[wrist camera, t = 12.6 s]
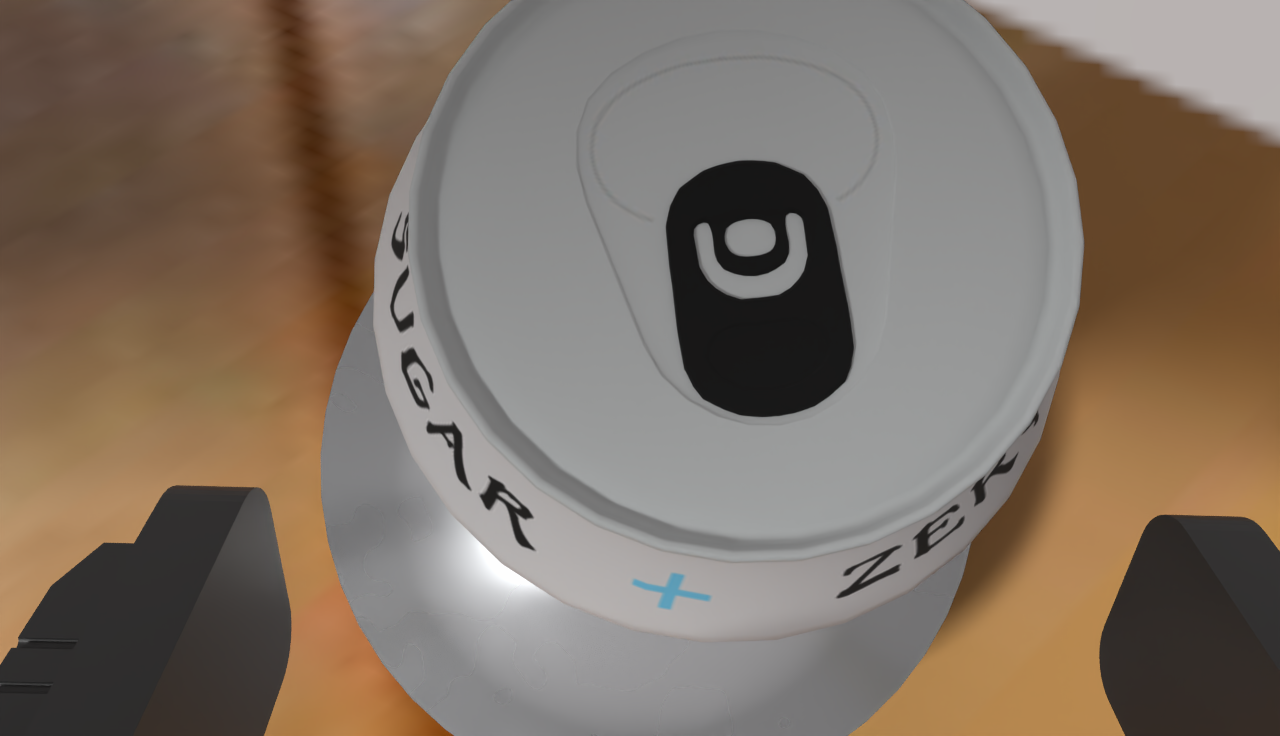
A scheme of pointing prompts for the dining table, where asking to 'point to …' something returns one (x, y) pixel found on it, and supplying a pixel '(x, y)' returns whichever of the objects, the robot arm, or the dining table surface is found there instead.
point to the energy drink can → (729, 301)
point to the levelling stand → (568, 616)
